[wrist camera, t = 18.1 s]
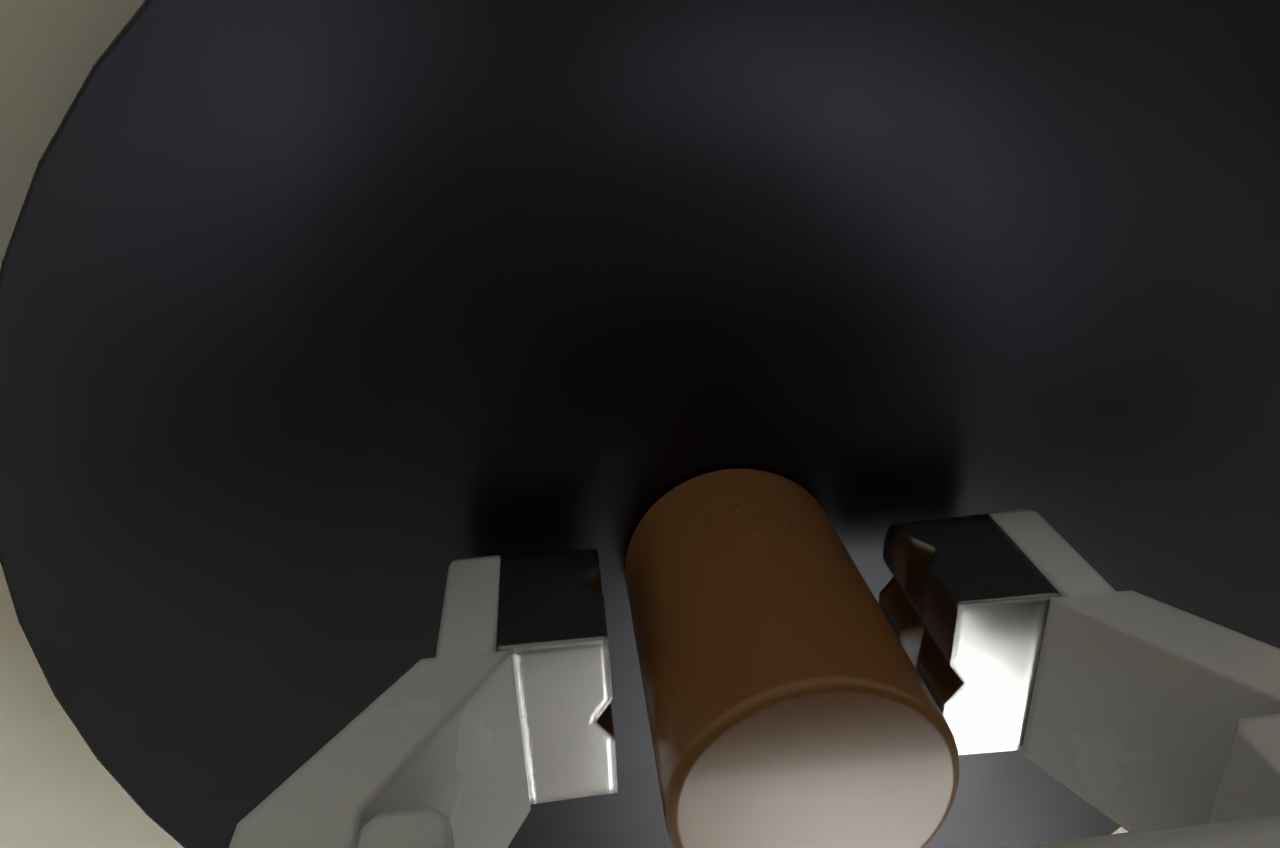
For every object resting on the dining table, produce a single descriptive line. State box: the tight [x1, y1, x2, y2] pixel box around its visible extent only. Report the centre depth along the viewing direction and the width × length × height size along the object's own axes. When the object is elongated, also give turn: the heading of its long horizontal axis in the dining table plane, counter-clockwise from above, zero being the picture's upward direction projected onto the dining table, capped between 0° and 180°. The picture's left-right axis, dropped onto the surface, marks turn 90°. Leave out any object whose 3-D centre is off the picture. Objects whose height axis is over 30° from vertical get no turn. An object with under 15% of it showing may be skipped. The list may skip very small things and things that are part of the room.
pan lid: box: [0, 0, 1280, 848], centre depth 9 cm, size 15×15×5 cm
